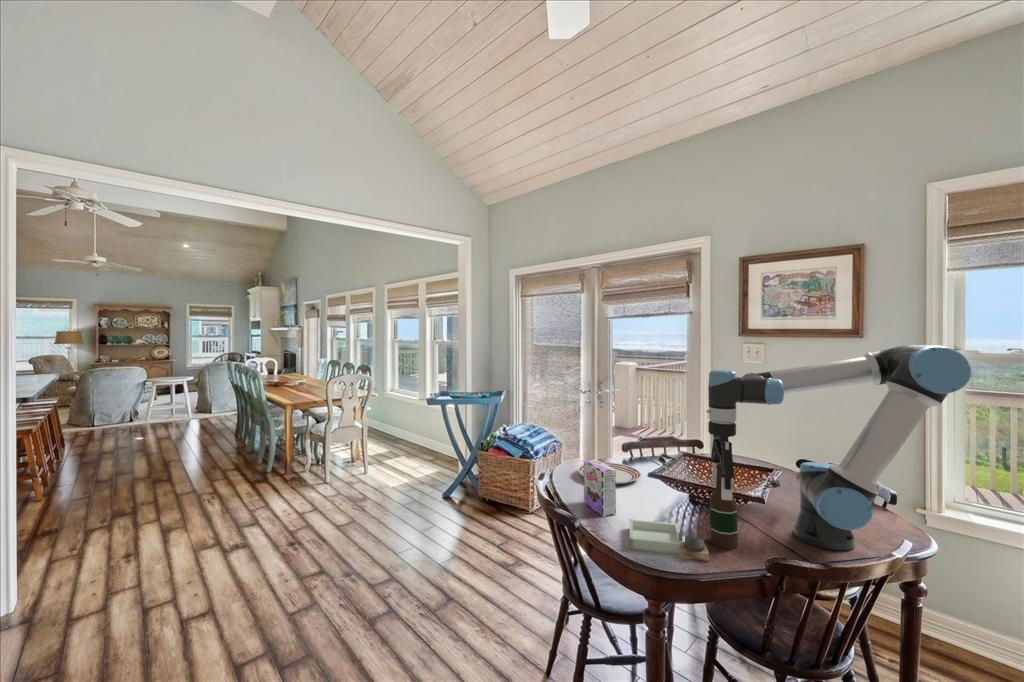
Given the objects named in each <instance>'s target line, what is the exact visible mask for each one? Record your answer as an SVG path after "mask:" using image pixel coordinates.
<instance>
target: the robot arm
mask: <svg viewBox="0 0 1024 682" xmlns="http://www.w3.org/2000/svg"><path fill="white" fill-rule="evenodd" d="M971 375H972V368H971V364H970V363H969V361H968V359H967V358H966V356H965V355H964V354H963V353H961V352H959V351H958V350H956V349H953V348H952V347H948V346H943V345H940V344H916V343H915V344H905V345H899V346H896V347H891V348H887V349H883V350H881V349H880V350H876V351H871V352H867V353H865V354H864V356H862V357H861V356H860V357H855V358H850V359H842V360H834V361H830V362H829V361H828V362H823V363H817V364H816V363H815V364H809V365H804V366H797V367H790V368H789V367H788V368H783V369H778V370H777V369H776V370H771V371H770V370H769V371H764V372H758V373H754V372H750V373H745V374H744V375H743V376H741V377H738V375H737V372H736V371H734V370H726V369H713V370H710V371H709V373H708V393H707V394H708V409H706V413H707V414H708V420H709V421H708V426H707V427H708V428H707V429H708V430H707V431H708V433H709V434H710V435H712V443H711V444H712V446H711V453H710V454H711V455H710V458H711V461H712V468H711V469H712V475H711V477H712V478H711V481H712V484H714V485H716V480H717V468H716V465H717V464H720V463H721V468H722V475H720V477H721V478H722V481H721V499H722V500H732V495H733V479H735V476H736V475H735V471H734V470H735V469H734V460H733V459H734V457H733V449H732V448H733V447H732V446H733V443H732V442H731V441H729V437H731V438H732V437H735V436H736V435H737V424H736V422H737V403H740V404H744V403H745V404H756V405H757V404H758V405H759V404H760V405H768V406H770V405H780V404H782V403H783V402H784V398H785V397H784V396H785V394H790V393H797V392H798V393H799V392H800V393H801V392H806V391H812V390H813V391H814V390H815V391H816V390H821V389H831V388H838V387H845V386H852V385H859V384H860V385H861V384H868V383H871V384H872V385H875V386H880V385H886V386H887V388H888V391H887V393H886V394H885V396H884V397H883V399H882V400H881V401H880V403H879V404H878V406H877V408H876V410H875V411H874V412H873V413H872V415H871V417H870V418H869V420H868V421H867V423H866V424H865V425H864V427H863V429H862V430H861V431H860V433H859V435H858V436H857V437H856V439H855V441H854V442H853V443H852V445H851V446H850V448H849V450H848V451H847V453H846V454H845V456H844V457H843V458H842V460H841V462H840V463H838V464H834V463H825V462H814V461H811V462H810V461H807V462H802V463H801V464H800V466H799V503H800V504H799V505H800V506H799V507H800V508H799V512H798V514H797V517H796V520H795V521H794V524H793V534H794V536H795V537H796V538H798V539H799V540H801V541H802V542H803V543H806V544H808V545H811V546H814V547H817V548H821V549H826V550H831V551H849V550H852V549H855V536H854V533H853V531H852V530H859V529H861V528H864V527H865V526H867V525H868V524H869V523H870V522H871V520H872V518H873V515H874V513H873V512H874V511H873V506H872V503H873V502H874V500H875V499H876V498H877V496H878V495H879V491H878V488H877V486H876V485H877V483H878V481H879V480H880V478H881V477H882V475H883V474H884V472H885V471H886V470H887V468H888V467H889V466H890V464H891V463H892V461H893V459H894V458H895V457H896V455H897V453H899V451H900V450H901V448H902V447H903V445H904V444H905V442H906V441H907V439H908V438H909V436H910V435H911V433H913V431H914V429H915V428H916V427H917V425H918V423H919V422H920V421H921V419H922V418H923V416H924V415H925V413H926V412H927V411H928V410H929V408H931V407H935V406H936V407H937V406H940V405H942V403H943V402H944V401H945V399H946V397H947V396H948V394H951V393H955V392H957V391H959V390H962V389H963V388H964V387H965V386H966V385H967V384H968V383H969V381H970V379H971ZM727 472H728V473H727Z"/></svg>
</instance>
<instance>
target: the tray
mask: <svg viewBox="0 0 1024 682" xmlns="http://www.w3.org/2000/svg"><path fill="white" fill-rule="evenodd" d="M628 524H629V525H628V526H629V550H635V551H646V552H652V553H662V554H671V555H672V554H673V555H678V548H684V544H683V542H684V540H682V541H680V540H679V532H681V529H680V526H679V524H678V523H672V522H664V521H663V522H661V521H651V520H641V519H630V518H629V523H628ZM677 541H678V542H679V543H678V542H677Z"/></svg>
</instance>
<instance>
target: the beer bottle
mask: <svg viewBox="0 0 1024 682" xmlns="http://www.w3.org/2000/svg"><path fill="white" fill-rule="evenodd" d="M719 463H720V464H717V465H716V468H717V480H716V484H715V489H714V490H713V492H712V493H711V495H710V498H709V538H710V541H711V545H714V546H716V547H718V548H719V549H723V550H724V549H727V550H733V549H735V548H738V539H739V538H738V537H739V536H738V505H737V502H736V499H735V496H734V495H733V494H732V500H722V499H721V481H722V478H721V477H720V475H722V468H721V462H719ZM727 473H728V472H727Z"/></svg>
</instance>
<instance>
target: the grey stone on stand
mask: <svg viewBox="0 0 1024 682" xmlns="http://www.w3.org/2000/svg"><path fill="white" fill-rule="evenodd" d="M679 540H680V541H683V532H681V531H680V532H679ZM677 542H678V541H677ZM678 543H679V542H678ZM683 544H684V548H678V554H677V557H678V558H679V559H686V560H696V561H706V562H710V552H709V549H708V547H707V544H706V543H705V542H704V538H702V537H701V536H698V535H695V534H690V535H686V536H685V537H684V541H683Z"/></svg>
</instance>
